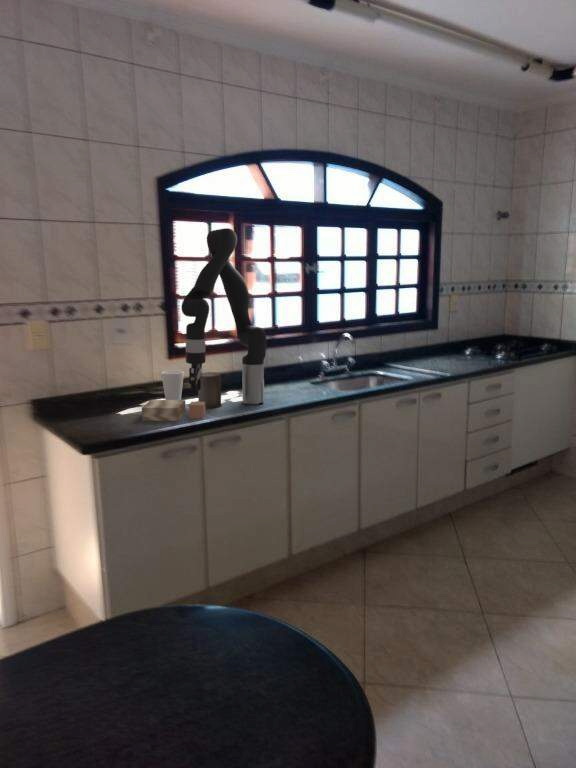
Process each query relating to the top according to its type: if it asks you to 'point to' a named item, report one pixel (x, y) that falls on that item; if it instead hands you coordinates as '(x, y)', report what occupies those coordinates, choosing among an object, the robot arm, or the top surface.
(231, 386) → the top surface
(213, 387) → the pillar candle
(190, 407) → the terracotta cube
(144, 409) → the birch plinth
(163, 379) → the foam cup
